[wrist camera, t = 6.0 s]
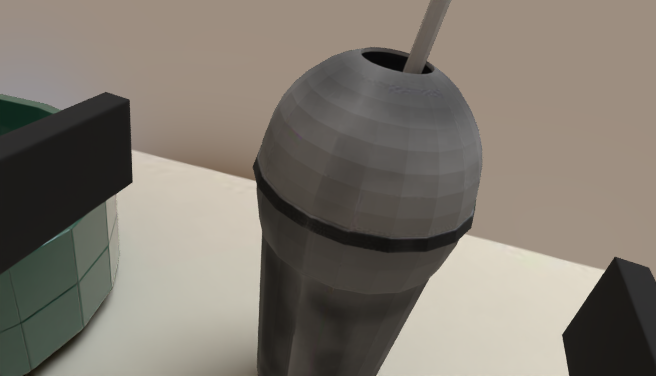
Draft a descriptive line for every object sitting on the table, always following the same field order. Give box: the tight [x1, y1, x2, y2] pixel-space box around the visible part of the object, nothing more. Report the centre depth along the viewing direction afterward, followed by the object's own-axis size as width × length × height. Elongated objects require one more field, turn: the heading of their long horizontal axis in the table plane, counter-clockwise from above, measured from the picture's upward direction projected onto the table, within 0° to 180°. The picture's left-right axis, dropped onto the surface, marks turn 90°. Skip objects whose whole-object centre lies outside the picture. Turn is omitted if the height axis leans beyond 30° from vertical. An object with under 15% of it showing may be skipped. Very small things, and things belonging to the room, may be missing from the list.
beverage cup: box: [253, 0, 482, 376], centre depth 16 cm, size 7×7×20 cm
